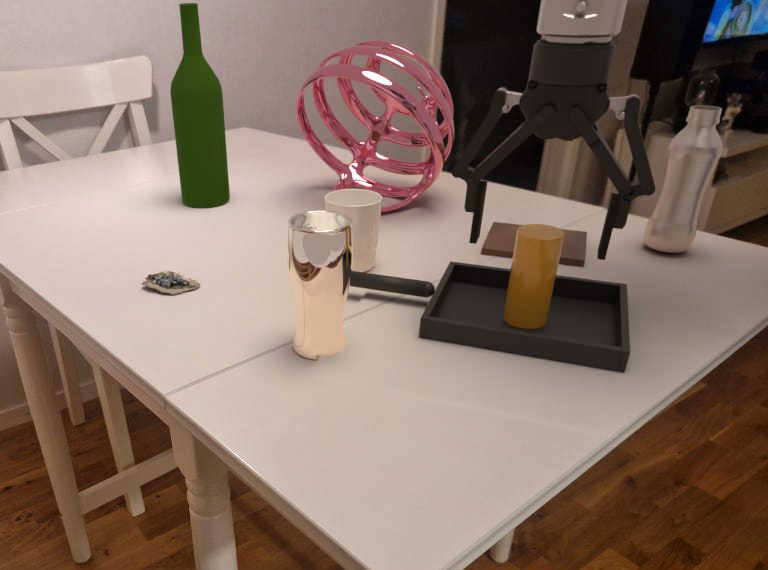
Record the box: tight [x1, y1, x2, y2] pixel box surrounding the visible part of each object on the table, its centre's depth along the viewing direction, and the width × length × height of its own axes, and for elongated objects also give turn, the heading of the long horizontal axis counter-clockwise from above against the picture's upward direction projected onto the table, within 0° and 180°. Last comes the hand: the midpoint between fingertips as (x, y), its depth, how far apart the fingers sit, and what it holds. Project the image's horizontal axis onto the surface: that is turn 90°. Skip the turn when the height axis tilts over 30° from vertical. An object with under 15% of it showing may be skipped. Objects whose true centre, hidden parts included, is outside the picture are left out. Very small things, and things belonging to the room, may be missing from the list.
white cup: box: [324, 188, 383, 273], centre depth 93 cm, size 8×8×10 cm
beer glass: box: [286, 209, 353, 361], centre depth 71 cm, size 7×7×15 cm
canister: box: [503, 223, 565, 329], centre depth 76 cm, size 5×5×11 cm
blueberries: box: [141, 270, 201, 296], centre depth 90 cm, size 7×8×2 cm
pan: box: [418, 261, 631, 374], centre depth 78 cm, size 22×18×3 cm
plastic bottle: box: [643, 104, 723, 254], centre depth 92 cm, size 6×7×20 cm
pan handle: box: [349, 271, 436, 299], centre depth 83 cm, size 12×2×2 cm, turn 67°
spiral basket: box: [295, 39, 456, 214], centre depth 113 cm, size 28×28×27 cm
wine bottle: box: [169, 2, 231, 209], centre depth 115 cm, size 9×9×32 cm
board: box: [480, 221, 588, 268], centre depth 99 cm, size 14×12×2 cm
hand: (535, 247), depth 74 cm, fingers open, 13 cm apart
